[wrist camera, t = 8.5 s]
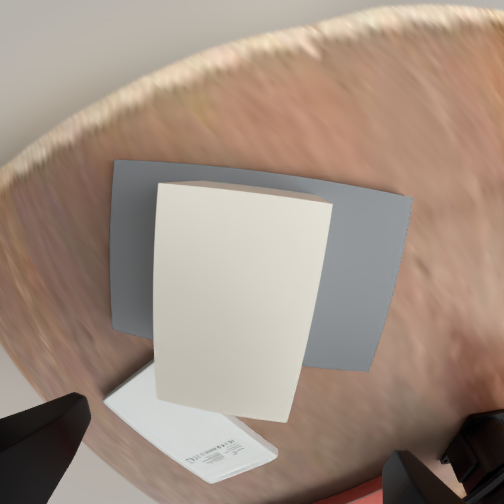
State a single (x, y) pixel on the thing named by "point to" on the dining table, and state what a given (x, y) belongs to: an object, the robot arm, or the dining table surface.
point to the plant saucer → (359, 494)
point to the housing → (234, 294)
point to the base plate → (334, 265)
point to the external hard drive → (189, 430)
